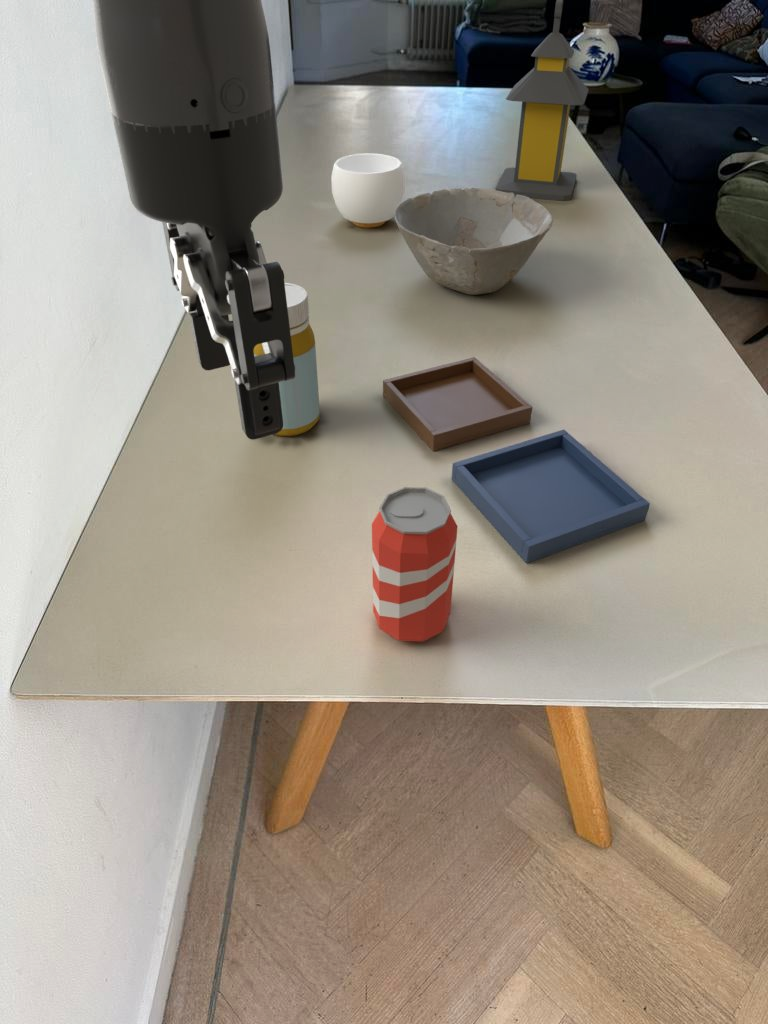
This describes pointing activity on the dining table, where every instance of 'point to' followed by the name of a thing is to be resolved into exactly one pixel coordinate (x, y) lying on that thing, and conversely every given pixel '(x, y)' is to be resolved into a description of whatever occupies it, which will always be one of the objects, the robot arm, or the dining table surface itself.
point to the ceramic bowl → (472, 236)
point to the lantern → (545, 121)
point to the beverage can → (413, 563)
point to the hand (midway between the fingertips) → (239, 397)
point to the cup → (368, 188)
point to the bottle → (299, 368)
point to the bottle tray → (456, 403)
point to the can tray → (548, 494)
